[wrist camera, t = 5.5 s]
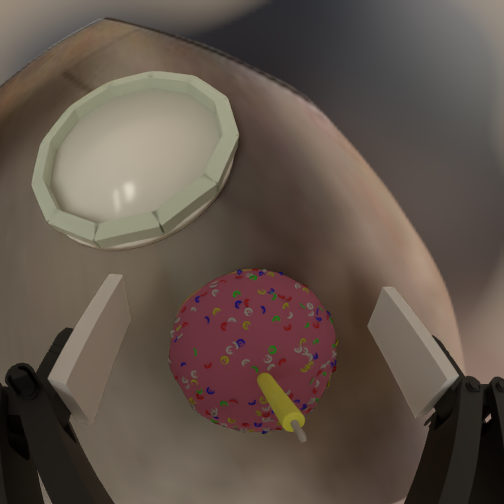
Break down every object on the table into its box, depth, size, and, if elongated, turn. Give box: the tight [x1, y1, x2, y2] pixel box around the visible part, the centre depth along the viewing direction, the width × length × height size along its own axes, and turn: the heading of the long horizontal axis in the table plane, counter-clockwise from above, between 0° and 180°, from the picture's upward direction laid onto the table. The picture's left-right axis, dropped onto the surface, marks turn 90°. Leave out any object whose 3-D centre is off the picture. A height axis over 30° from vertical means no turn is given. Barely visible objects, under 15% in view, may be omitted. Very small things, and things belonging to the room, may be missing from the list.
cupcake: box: [168, 269, 338, 442], centre depth 12 cm, size 9×8×12 cm
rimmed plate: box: [31, 71, 239, 251], centre depth 20 cm, size 18×18×2 cm
